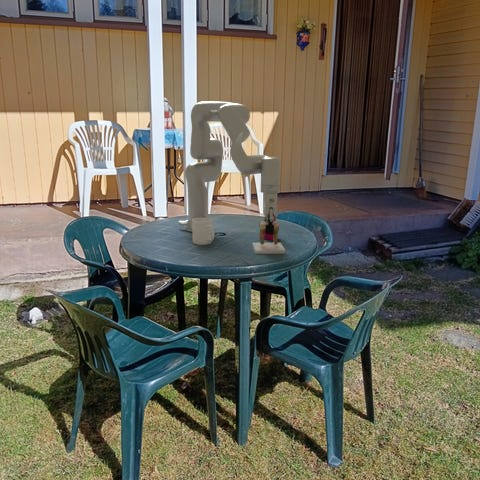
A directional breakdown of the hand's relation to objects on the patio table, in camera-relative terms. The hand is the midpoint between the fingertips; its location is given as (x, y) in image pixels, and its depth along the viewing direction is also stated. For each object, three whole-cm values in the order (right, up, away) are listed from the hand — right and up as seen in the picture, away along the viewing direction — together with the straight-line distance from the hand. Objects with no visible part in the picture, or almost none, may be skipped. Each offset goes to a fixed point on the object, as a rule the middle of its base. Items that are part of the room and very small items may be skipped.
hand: (268, 232), depth 201 cm
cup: (-27, -5, +10) cm, 29 cm away
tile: (0, -7, +2) cm, 7 cm away
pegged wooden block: (0, -5, +1) cm, 5 cm away
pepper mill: (+2, -3, +19) cm, 20 cm away
